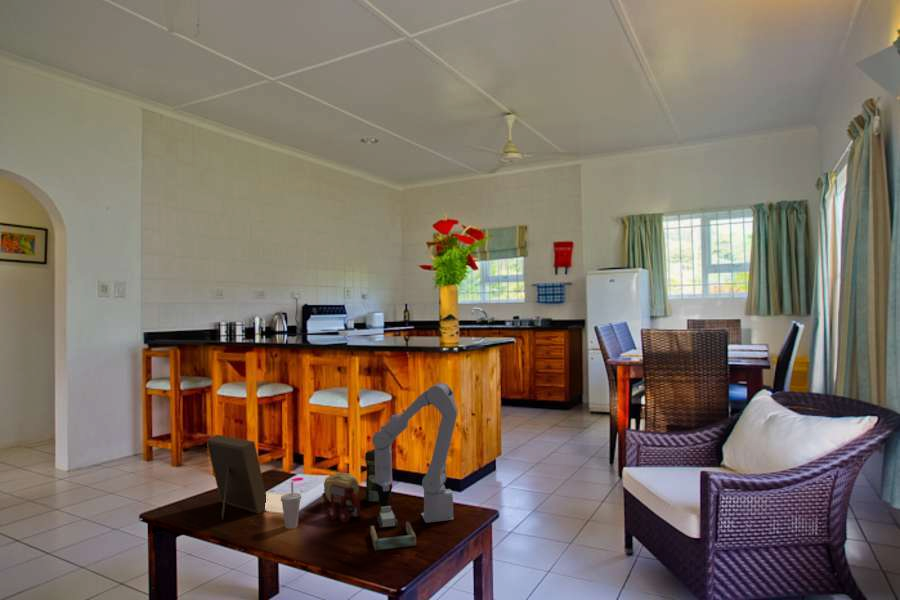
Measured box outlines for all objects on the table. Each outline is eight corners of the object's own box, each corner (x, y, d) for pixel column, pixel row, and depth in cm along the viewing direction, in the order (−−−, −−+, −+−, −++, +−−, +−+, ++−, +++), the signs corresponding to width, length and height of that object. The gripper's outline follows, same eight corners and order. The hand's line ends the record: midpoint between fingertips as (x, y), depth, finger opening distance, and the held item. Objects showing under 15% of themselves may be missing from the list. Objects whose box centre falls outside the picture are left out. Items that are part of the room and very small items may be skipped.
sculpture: (319, 507, 187) (319, 476, 188) (336, 496, 199) (336, 467, 199) (348, 510, 184) (348, 478, 184) (364, 498, 195) (363, 469, 196)
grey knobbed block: (394, 519, 174) (394, 505, 175) (397, 527, 168) (397, 512, 168) (377, 521, 173) (377, 507, 173) (379, 529, 166) (379, 514, 167)
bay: (409, 529, 166) (409, 521, 166) (416, 545, 154) (416, 536, 154) (370, 534, 163) (370, 525, 163) (374, 550, 151) (374, 541, 151)
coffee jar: (376, 493, 201) (376, 444, 201) (394, 496, 197) (393, 446, 198) (361, 501, 192) (361, 450, 193) (380, 504, 189) (379, 452, 189)
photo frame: (231, 498, 197) (230, 431, 198) (268, 509, 185) (268, 438, 186) (193, 511, 185) (192, 440, 185) (230, 524, 173) (230, 447, 173)
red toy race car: (351, 524, 171) (351, 492, 171) (323, 517, 177) (323, 486, 178) (365, 517, 177) (365, 486, 177) (338, 511, 183) (337, 480, 183)
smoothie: (305, 524, 171) (305, 480, 172) (292, 531, 166) (291, 486, 166) (290, 521, 174) (290, 478, 175) (276, 528, 168) (276, 484, 169)
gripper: (369, 461, 186) (369, 500, 185) (373, 472, 172) (374, 515, 171) (389, 459, 188) (389, 498, 187) (395, 470, 173) (395, 512, 173)
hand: (383, 506), depth 179 cm, fingers closed
